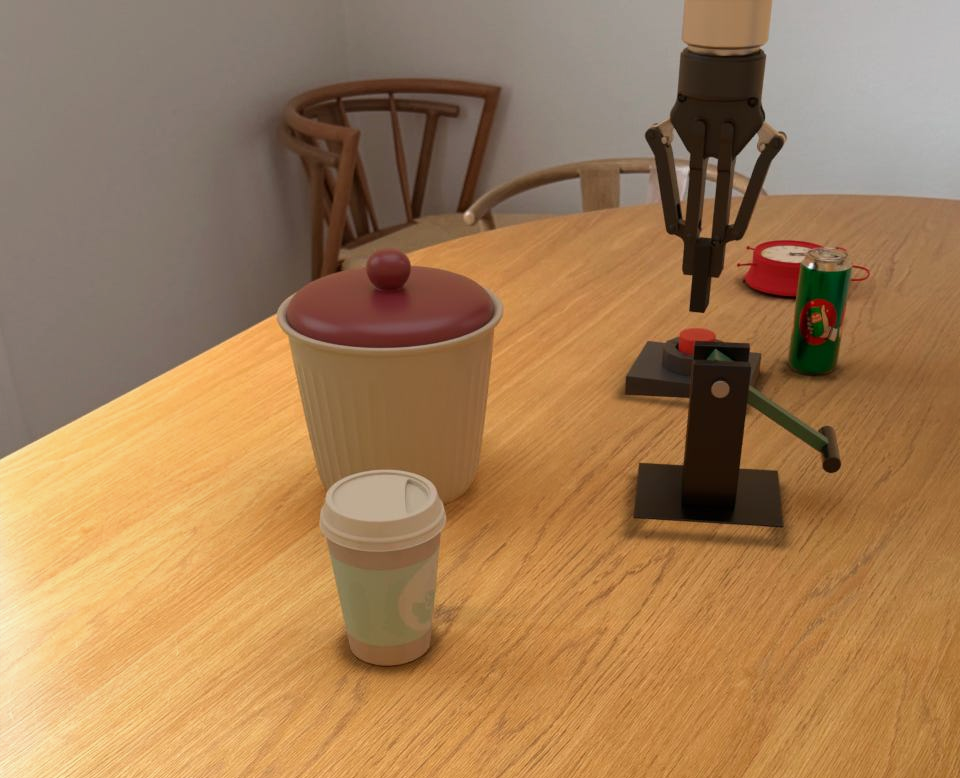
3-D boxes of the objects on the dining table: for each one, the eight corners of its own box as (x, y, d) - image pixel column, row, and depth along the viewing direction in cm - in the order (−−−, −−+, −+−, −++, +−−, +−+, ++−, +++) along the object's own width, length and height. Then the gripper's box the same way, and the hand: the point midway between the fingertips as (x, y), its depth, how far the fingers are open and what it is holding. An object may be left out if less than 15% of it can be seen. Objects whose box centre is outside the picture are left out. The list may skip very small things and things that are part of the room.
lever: (823, 448, 105) (842, 427, 104) (828, 481, 100) (849, 459, 99) (696, 362, 103) (715, 339, 101) (696, 391, 98) (715, 367, 96)
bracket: (775, 485, 110) (796, 333, 102) (781, 542, 102) (804, 381, 94) (638, 477, 111) (648, 327, 104) (632, 532, 103) (642, 374, 96)
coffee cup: (409, 690, 86) (401, 537, 79) (307, 656, 89) (291, 506, 82) (471, 629, 92) (468, 482, 85) (373, 599, 95) (363, 455, 88)
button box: (759, 373, 131) (763, 336, 129) (744, 411, 123) (749, 372, 121) (646, 360, 134) (648, 324, 132) (624, 396, 126) (626, 358, 124)
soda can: (809, 355, 135) (825, 243, 128) (846, 369, 131) (865, 255, 125) (776, 366, 132) (791, 252, 126) (813, 381, 129) (831, 265, 122)
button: (717, 346, 127) (718, 329, 126) (710, 359, 125) (712, 342, 124) (681, 342, 128) (683, 326, 127) (675, 355, 126) (676, 338, 125)
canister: (413, 565, 99) (401, 305, 87) (251, 502, 108) (221, 258, 96) (543, 481, 111) (549, 241, 99) (388, 430, 120) (376, 205, 108)
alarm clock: (745, 237, 157) (870, 220, 152) (751, 286, 160) (873, 271, 155) (732, 263, 149) (863, 245, 143) (738, 314, 152) (867, 298, 146)
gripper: (804, 43, 112) (770, 302, 125) (659, 36, 115) (642, 289, 129) (793, 58, 106) (759, 328, 119) (642, 50, 110) (625, 313, 123)
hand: (699, 307), depth 124 cm, fingers closed
